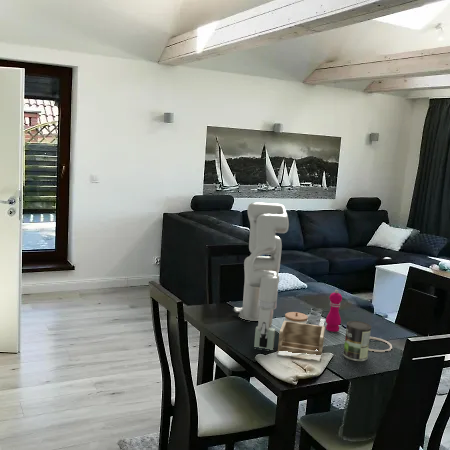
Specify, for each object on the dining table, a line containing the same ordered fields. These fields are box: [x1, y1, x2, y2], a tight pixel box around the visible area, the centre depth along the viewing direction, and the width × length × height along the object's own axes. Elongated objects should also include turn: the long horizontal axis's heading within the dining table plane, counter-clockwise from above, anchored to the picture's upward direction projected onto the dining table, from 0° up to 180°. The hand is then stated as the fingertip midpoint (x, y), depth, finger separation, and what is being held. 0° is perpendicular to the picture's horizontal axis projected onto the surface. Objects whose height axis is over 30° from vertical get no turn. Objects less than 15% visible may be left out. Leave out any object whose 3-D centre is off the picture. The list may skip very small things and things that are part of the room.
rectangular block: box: [253, 325, 276, 351], centre depth 236 cm, size 8×3×9 cm, turn 77°
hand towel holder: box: [368, 336, 393, 353], centre depth 251 cm, size 17×4×21 cm
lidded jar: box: [284, 311, 309, 324], centre depth 260 cm, size 11×11×9 cm
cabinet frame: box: [277, 320, 326, 355], centre depth 235 cm, size 18×16×10 cm
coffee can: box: [342, 320, 372, 362], centre depth 234 cm, size 10×10×14 cm
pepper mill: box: [325, 289, 343, 333], centre depth 265 cm, size 7×7×20 cm
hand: (264, 343), depth 236 cm, fingers open, 5 cm apart
